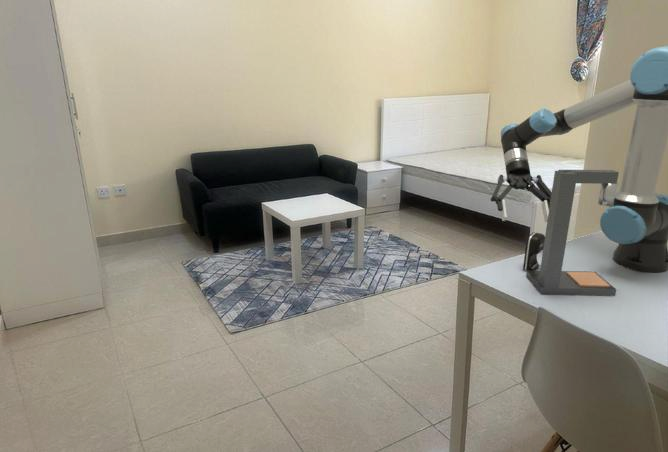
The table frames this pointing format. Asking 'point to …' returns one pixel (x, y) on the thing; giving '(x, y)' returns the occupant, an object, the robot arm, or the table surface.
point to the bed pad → (588, 279)
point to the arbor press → (560, 208)
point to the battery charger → (533, 251)
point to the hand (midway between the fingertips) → (526, 219)
